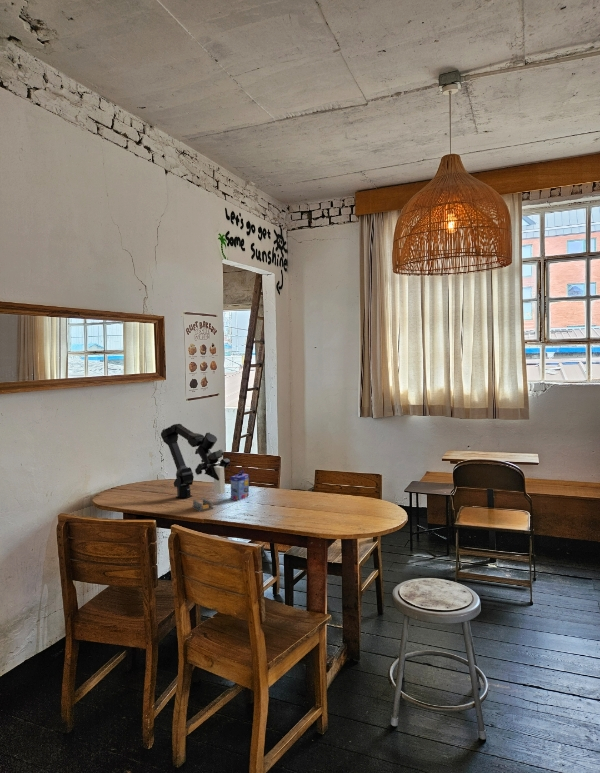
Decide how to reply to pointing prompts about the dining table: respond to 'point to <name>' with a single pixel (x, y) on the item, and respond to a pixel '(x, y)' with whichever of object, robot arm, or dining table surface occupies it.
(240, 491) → the ink cartridge box
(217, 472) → the panel
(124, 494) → the dining table surface
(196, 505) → the rack
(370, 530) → the dining table surface
